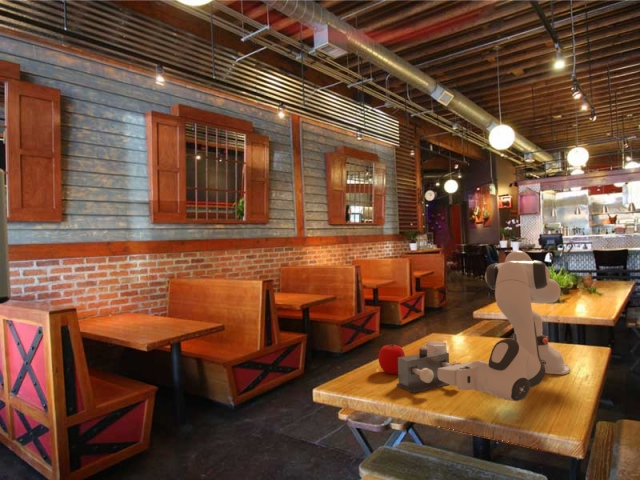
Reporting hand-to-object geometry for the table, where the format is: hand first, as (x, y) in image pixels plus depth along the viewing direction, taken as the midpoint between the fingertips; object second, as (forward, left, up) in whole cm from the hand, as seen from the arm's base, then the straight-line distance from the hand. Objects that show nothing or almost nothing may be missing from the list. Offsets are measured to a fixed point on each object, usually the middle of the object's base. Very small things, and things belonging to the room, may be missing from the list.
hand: (449, 365), depth 153 cm
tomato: (+32, -22, -13) cm, 41 cm away
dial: (+15, -16, -2) cm, 22 cm away
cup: (+16, -33, -13) cm, 39 cm away
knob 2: (+6, -19, -9) cm, 22 cm away
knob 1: (+13, -6, -9) cm, 17 cm away
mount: (+14, -15, -13) cm, 24 cm away
